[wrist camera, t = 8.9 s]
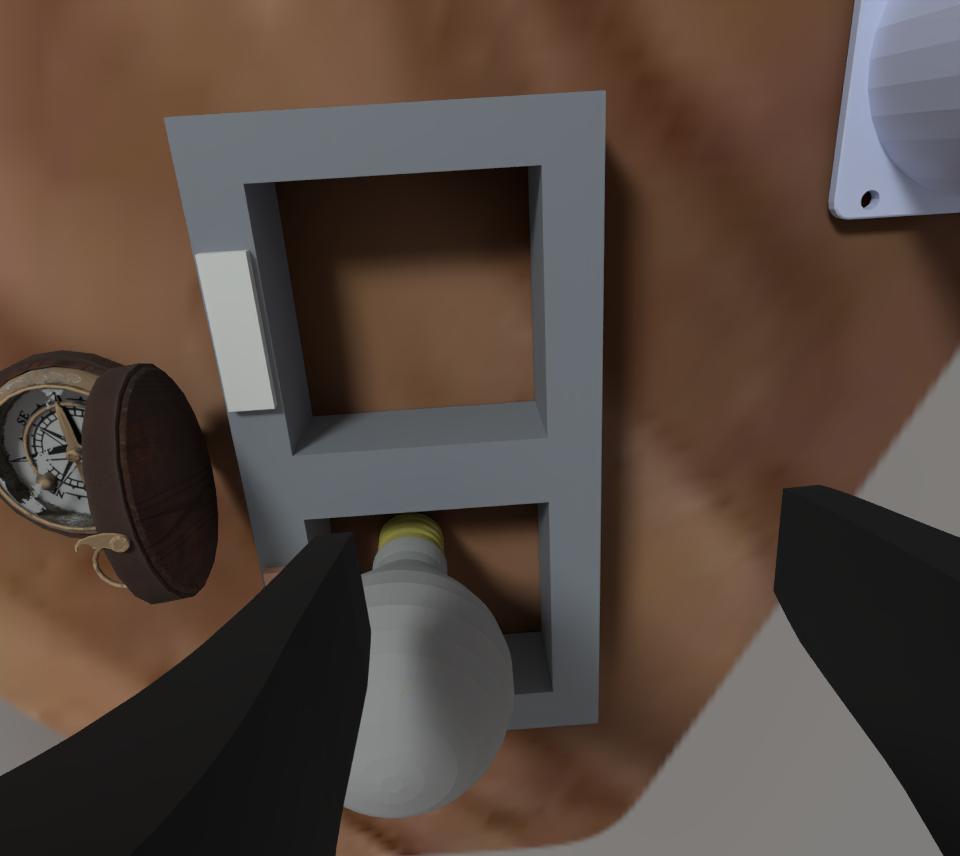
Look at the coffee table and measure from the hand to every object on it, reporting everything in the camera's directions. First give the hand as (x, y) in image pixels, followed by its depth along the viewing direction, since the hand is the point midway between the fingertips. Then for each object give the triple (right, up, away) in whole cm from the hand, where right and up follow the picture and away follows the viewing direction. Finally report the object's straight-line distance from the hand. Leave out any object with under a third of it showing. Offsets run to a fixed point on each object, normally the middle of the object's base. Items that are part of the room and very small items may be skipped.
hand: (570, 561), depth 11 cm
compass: (-13, +1, +11) cm, 17 cm away
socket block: (-3, +2, +10) cm, 11 cm away
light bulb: (-4, -1, +12) cm, 12 cm away
